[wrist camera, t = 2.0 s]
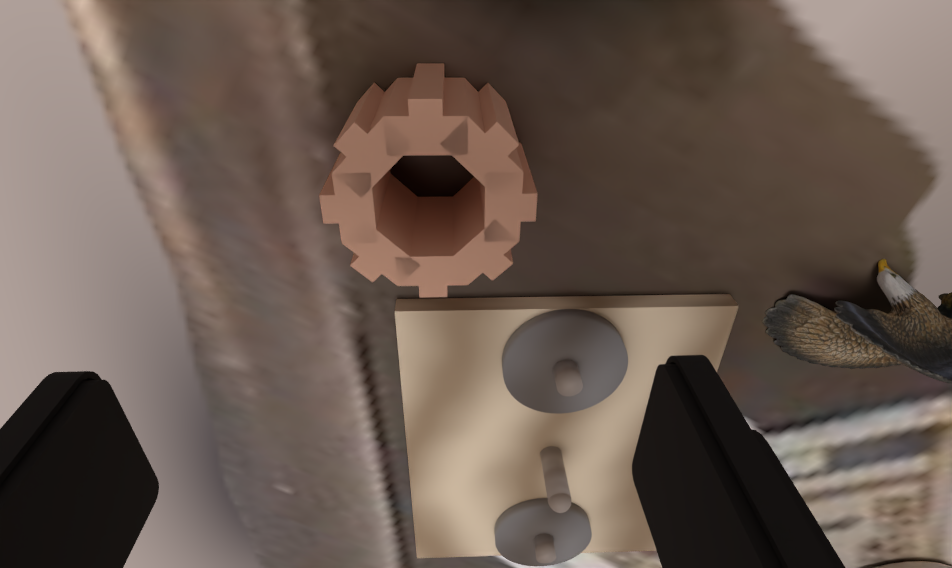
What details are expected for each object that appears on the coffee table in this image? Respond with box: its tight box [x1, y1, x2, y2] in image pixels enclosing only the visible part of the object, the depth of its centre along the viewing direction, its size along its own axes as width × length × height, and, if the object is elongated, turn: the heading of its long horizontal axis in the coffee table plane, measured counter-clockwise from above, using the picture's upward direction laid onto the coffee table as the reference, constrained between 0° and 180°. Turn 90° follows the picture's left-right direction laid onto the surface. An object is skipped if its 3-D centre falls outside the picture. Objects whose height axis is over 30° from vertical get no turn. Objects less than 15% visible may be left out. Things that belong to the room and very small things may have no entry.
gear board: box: [395, 294, 739, 566], centre depth 30 cm, size 16×20×5 cm
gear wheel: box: [319, 63, 538, 297], centre depth 20 cm, size 7×7×5 cm
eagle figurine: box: [763, 259, 952, 383], centre depth 24 cm, size 8×7×9 cm
